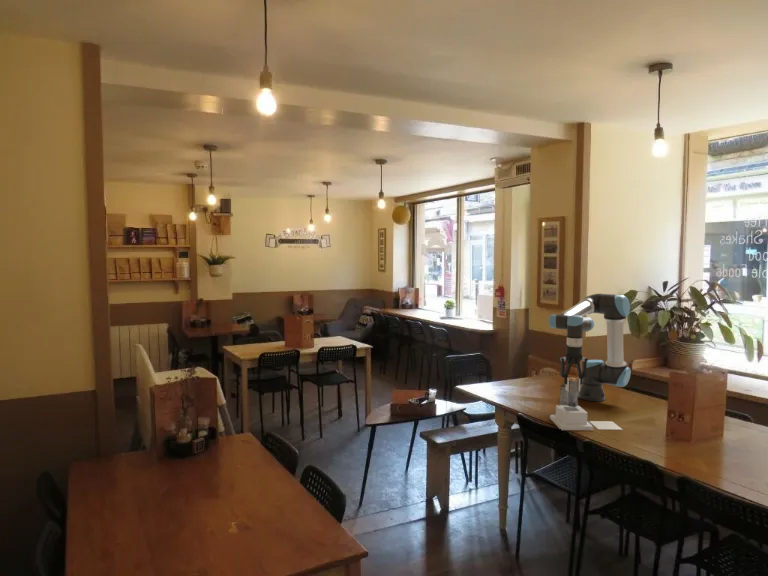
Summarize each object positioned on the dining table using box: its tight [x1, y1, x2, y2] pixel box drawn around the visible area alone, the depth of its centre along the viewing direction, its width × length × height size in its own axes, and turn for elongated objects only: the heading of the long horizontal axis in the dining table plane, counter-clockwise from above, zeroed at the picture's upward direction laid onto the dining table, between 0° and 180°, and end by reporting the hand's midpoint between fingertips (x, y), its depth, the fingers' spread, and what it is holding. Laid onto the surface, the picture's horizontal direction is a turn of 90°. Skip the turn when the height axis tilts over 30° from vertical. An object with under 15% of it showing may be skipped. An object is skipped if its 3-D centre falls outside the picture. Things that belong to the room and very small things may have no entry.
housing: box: [549, 404, 594, 431], centre depth 270 cm, size 18×16×8 cm
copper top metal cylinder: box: [567, 376, 579, 407], centre depth 268 cm, size 5×5×14 cm
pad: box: [588, 420, 623, 431], centre depth 268 cm, size 12×12×1 cm
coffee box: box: [559, 383, 579, 406], centre depth 287 cm, size 9×6×16 cm
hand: (572, 390), depth 268 cm, fingers closed on copper top metal cylinder, 5 cm apart
